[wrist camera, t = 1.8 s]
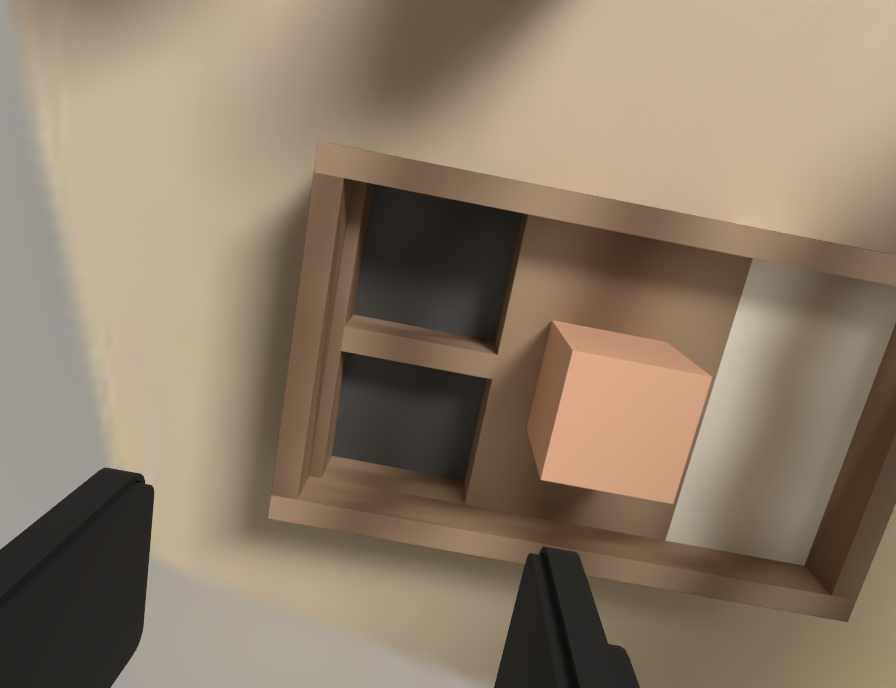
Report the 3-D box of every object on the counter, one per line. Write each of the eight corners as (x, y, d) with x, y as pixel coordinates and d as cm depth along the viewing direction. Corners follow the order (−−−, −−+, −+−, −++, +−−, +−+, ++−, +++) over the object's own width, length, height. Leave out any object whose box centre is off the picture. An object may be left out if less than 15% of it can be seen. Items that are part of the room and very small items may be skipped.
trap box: (899, 258, 26) (989, 273, 21) (789, 556, 29) (847, 621, 25) (342, 148, 25) (318, 141, 21) (297, 467, 29) (267, 518, 24)
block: (666, 342, 24) (712, 377, 20) (636, 448, 25) (673, 503, 21) (552, 320, 24) (572, 350, 20) (526, 428, 25) (540, 479, 21)
